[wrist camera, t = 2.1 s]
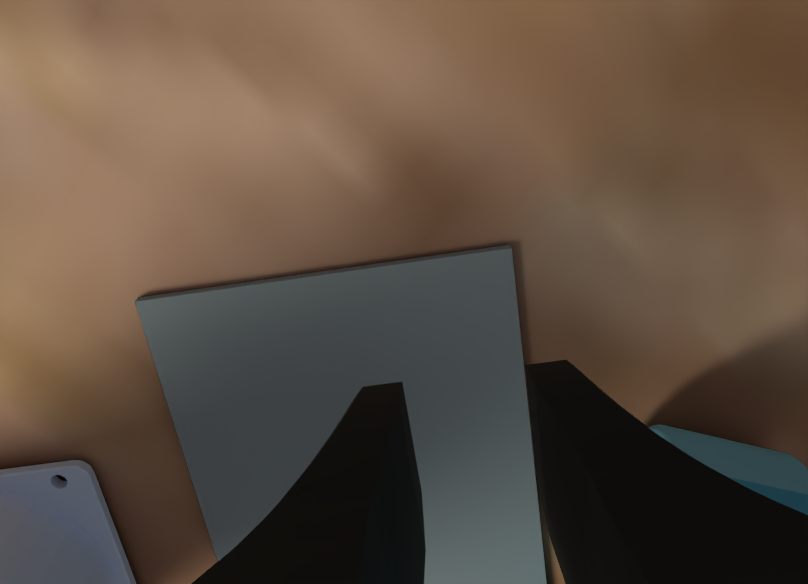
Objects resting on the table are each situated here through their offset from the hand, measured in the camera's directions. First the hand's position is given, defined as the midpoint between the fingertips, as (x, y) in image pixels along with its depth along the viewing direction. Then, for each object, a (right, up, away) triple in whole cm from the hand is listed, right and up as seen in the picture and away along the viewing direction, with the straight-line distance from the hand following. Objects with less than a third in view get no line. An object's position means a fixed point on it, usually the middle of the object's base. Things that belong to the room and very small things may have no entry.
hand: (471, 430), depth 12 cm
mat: (-2, -8, +15) cm, 17 cm away
